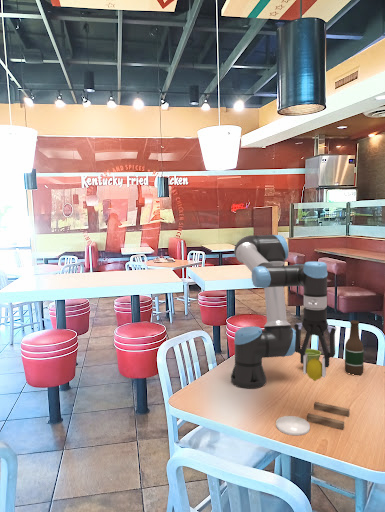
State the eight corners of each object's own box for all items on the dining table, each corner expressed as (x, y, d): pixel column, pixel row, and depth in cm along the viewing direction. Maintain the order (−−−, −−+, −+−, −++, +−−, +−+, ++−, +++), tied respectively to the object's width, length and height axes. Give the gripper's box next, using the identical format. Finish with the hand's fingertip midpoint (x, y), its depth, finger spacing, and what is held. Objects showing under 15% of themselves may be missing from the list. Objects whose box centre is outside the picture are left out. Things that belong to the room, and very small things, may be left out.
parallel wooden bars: (306, 421, 135) (306, 415, 135) (315, 406, 145) (315, 401, 145) (343, 429, 129) (343, 424, 129) (349, 414, 139) (349, 409, 139)
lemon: (303, 378, 136) (303, 355, 136) (318, 377, 137) (319, 355, 136) (310, 384, 131) (310, 361, 130) (326, 383, 132) (326, 360, 131)
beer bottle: (355, 377, 172) (355, 323, 170) (341, 371, 179) (341, 320, 177) (367, 373, 176) (368, 321, 174) (352, 368, 183) (353, 318, 181)
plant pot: (300, 373, 178) (300, 354, 178) (299, 365, 187) (299, 348, 187) (322, 374, 176) (322, 355, 175) (320, 367, 185) (320, 349, 185)
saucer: (271, 430, 130) (271, 427, 130) (282, 415, 139) (282, 413, 139) (304, 438, 124) (304, 435, 124) (313, 423, 133) (313, 420, 133)
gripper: (284, 307, 133) (284, 373, 135) (342, 312, 124) (341, 383, 126) (290, 303, 139) (290, 366, 141) (345, 307, 131) (345, 375, 133)
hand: (314, 374), depth 134 cm, fingers closed on lemon, 5 cm apart
